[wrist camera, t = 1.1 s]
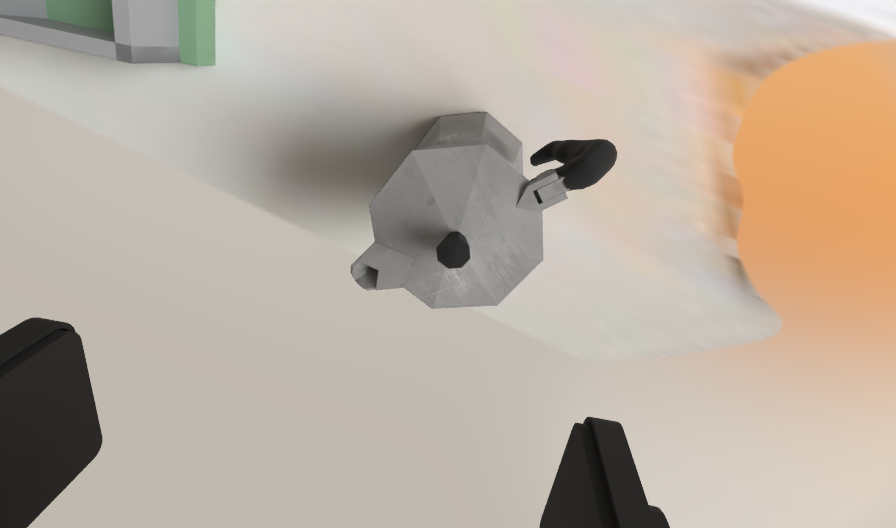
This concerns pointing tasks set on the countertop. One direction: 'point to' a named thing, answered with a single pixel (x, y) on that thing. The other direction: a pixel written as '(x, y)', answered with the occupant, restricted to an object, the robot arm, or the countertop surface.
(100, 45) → the green backplate cradle
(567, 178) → the coffeepot
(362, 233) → the countertop surface
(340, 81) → the countertop surface
